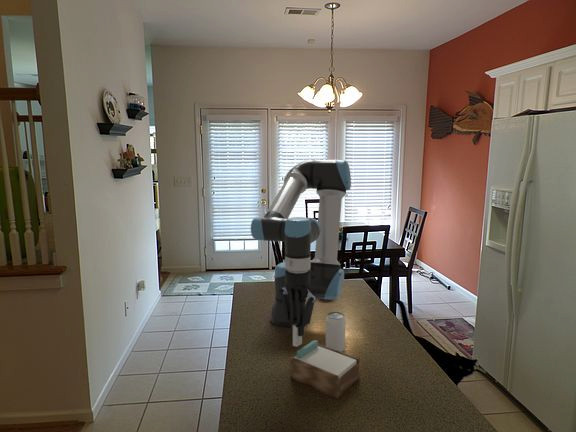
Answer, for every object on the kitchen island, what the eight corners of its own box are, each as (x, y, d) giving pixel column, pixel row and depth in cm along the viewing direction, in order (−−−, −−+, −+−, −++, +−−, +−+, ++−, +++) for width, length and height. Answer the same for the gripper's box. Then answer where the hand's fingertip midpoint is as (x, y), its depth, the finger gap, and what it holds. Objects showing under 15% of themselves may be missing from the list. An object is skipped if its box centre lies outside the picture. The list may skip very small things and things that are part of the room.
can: (346, 346, 134) (347, 312, 132) (342, 355, 127) (343, 320, 126) (328, 343, 136) (328, 310, 134) (323, 351, 130) (324, 317, 128)
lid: (293, 361, 114) (293, 351, 114) (313, 347, 122) (314, 338, 121) (337, 379, 105) (337, 368, 104) (356, 363, 113) (356, 353, 112)
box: (290, 377, 114) (290, 357, 113) (313, 361, 124) (314, 341, 123) (337, 399, 105) (337, 376, 104) (358, 379, 114) (359, 358, 113)
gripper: (272, 268, 117) (273, 342, 120) (307, 277, 108) (307, 356, 112) (288, 263, 122) (288, 334, 126) (323, 271, 114) (322, 346, 118)
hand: (297, 344), depth 119 cm, fingers closed
